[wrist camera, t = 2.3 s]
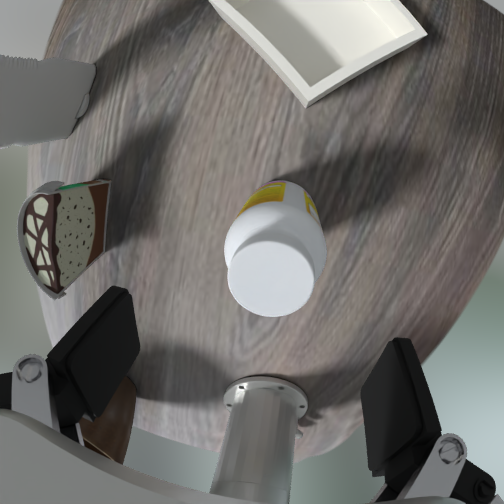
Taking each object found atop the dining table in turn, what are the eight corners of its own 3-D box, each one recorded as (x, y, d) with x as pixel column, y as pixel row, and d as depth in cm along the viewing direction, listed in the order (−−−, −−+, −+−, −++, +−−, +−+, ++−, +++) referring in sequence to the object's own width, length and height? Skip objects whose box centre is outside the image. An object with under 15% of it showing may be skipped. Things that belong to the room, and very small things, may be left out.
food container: (76, 157, 27) (12, 174, 18) (113, 167, 27) (48, 187, 18) (71, 247, 32) (21, 281, 23) (104, 262, 32) (55, 304, 23)
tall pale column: (72, 148, 26) (-90, 202, 6) (54, 135, 26) (-97, 179, 6) (107, 66, 22) (-74, 55, 2) (86, 57, 21) (-78, 50, 2)
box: (406, 48, 17) (427, 34, 13) (305, 108, 22) (308, 101, 17) (321, -38, 14) (324, -63, 10) (220, 17, 19) (205, -4, 14)
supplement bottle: (235, 227, 27) (191, 299, 16) (264, 167, 25) (236, 197, 13) (296, 257, 28) (294, 346, 16) (329, 200, 25) (357, 258, 13)
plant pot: (108, 399, 47) (75, 454, 32) (73, 347, 41) (26, 404, 27) (166, 411, 44) (137, 480, 29) (133, 356, 38) (84, 433, 24)
